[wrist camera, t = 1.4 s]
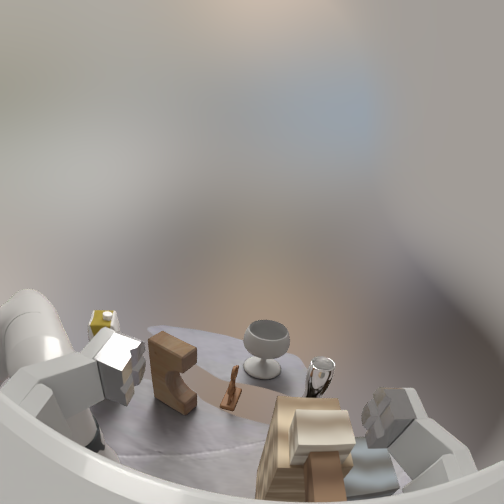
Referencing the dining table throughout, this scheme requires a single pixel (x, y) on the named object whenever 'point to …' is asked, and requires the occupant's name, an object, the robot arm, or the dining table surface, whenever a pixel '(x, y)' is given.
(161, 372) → the decorative block
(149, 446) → the dining table surface
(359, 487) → the step stand
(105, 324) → the juice carton
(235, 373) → the gingerbread man figurine
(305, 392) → the beer glass
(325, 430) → the brown rectangular block
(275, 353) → the chalice
